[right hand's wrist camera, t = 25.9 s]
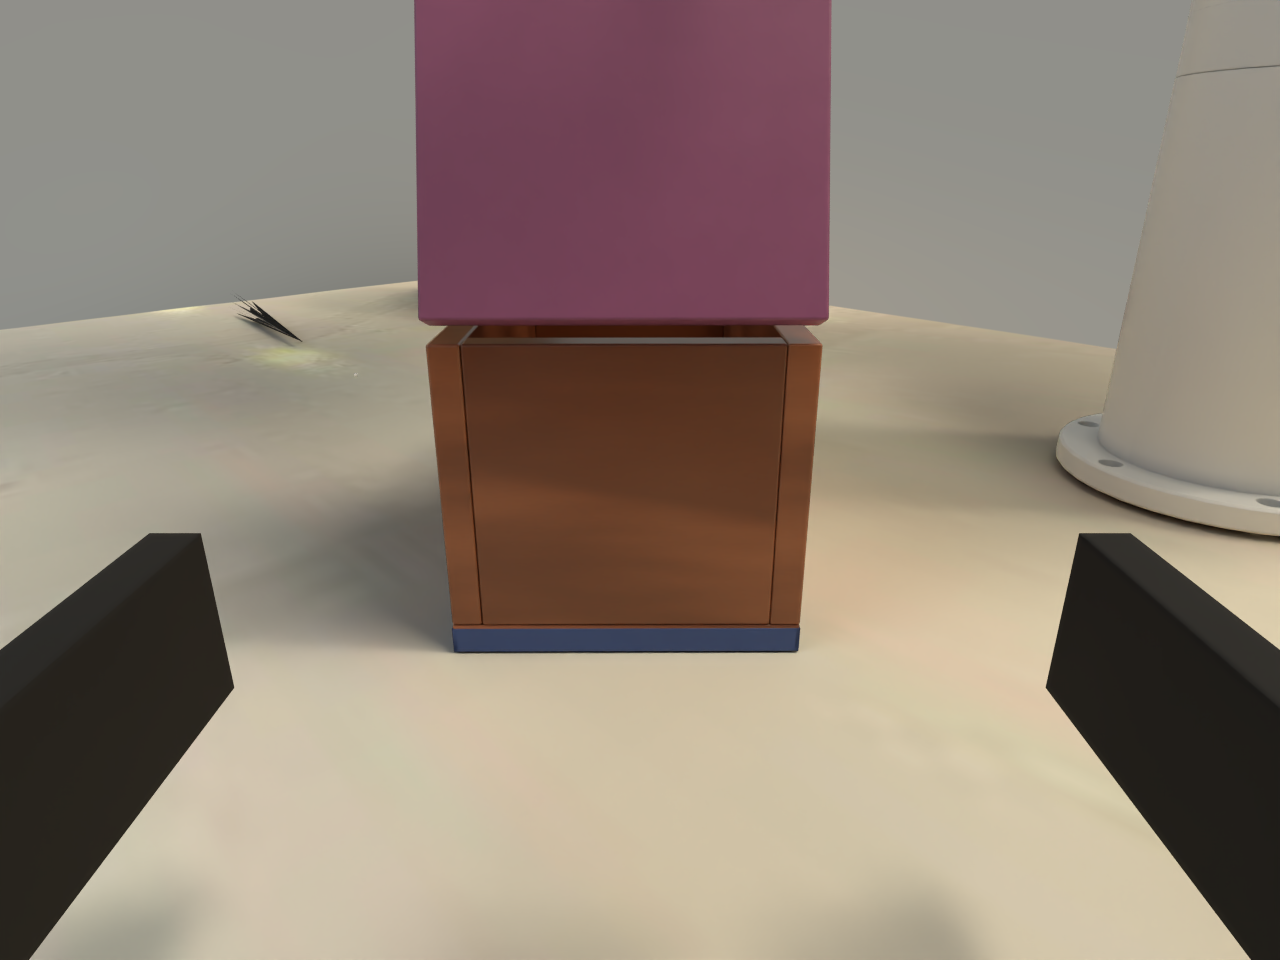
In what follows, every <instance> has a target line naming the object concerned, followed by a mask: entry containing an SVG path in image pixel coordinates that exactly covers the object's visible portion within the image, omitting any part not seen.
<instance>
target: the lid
mask: <svg viewBox="0 0 1280 960" xmlns="http://www.w3.org/2000/svg"><path fill="white" fill-rule="evenodd" d="M414 19H415V96H416V97H415V98H416V173H417V250H418V318H419V320H420V321H422V322H424V323H425V324H427V325H430V326H581V325H820V324H822V323H823V322H825V321H826V320H828V318H829V219H830V216H829V215H830V103H831V0H414Z"/></svg>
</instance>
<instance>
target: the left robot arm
mask: <svg viewBox="0 0 1280 960" xmlns="http://www.w3.org/2000/svg"><path fill="white" fill-rule="evenodd" d="M1056 457H1057V459H1058V460H1059V462H1060V463H1061V465H1062V466H1063V468H1064V469H1065V470H1067V471H1068V472H1069V473H1070V474H1072V475H1073V476H1074V477H1075V478H1077V479H1078V480H1080V481H1081V482H1083V483H1085V484H1087V485H1088V486H1090V487H1092V488H1094V489H1096V490H1098V491H1100V492H1102V493H1105V494H1107V495H1109V496H1111V497H1114V498H1116V499H1118V500H1121V501H1124V502H1127V503H1129V504H1132V505H1135V506H1138V507H1141V508H1144V509H1147V510H1150V511H1153V512H1157V513H1161V514H1164V515H1168V516H1171V517H1175V518H1179V519H1182V520H1186V521H1191V522H1196V523H1200V524H1205V525H1209V526H1214V527H1219V528H1224V529H1230V530H1237V531H1243V532H1249V533H1255V534H1263V535H1273V536H1280V0H1192V2H1191V7H1190V12H1189V17H1188V22H1187V27H1186V32H1185V36H1184V41H1183V46H1182V51H1181V55H1180V60H1179V65H1178V69H1177V74H1176V78H1175V81H1174V86H1173V90H1172V95H1171V100H1170V105H1169V109H1168V114H1167V118H1166V123H1165V127H1164V132H1163V137H1162V141H1161V146H1160V151H1159V155H1158V160H1157V164H1156V169H1155V174H1154V179H1153V183H1152V188H1151V192H1150V197H1149V202H1148V206H1147V211H1146V215H1145V220H1144V225H1143V230H1142V234H1141V239H1140V243H1139V248H1138V253H1137V257H1136V262H1135V266H1134V271H1133V276H1132V280H1131V285H1130V290H1129V294H1128V299H1127V304H1126V308H1125V313H1124V317H1123V322H1122V327H1121V331H1120V336H1119V341H1118V345H1117V350H1116V354H1115V359H1114V364H1113V368H1112V373H1111V378H1110V382H1109V387H1108V391H1107V396H1106V401H1105V405H1104V410H1103V413H1100V414H1095V415H1090V416H1085V417H1081V418H1079V419H1076V420H1074V421H1072V422H1070V423H1068V424H1067V425H1066V426H1064V427H1063V428H1062V429H1061V431H1060V434H1059V438H1058V443H1057V447H1056Z"/></svg>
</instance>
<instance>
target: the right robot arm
mask: <svg viewBox="0 0 1280 960" xmlns="http://www.w3.org/2000/svg"><path fill="white" fill-rule="evenodd" d="M233 689H234V684H233V680H232V675H231V670H230V666H229V661H228V657H227V652H226V647H225V643H224V638H223V633H222V629H221V624H220V620H219V615H218V610H217V606H216V601H215V597H214V592H213V587H212V583H211V578H210V574H209V569H208V564H207V560H206V555H205V551H204V546H203V541H202V537H201V533H149V534H148V535H147V536H145V537H144V538H143V539H142V540H140V541H139V542H138V543H137V544H135V545H134V546H133V547H131V548H130V549H129V550H128V551H126V552H125V553H124V554H122V555H121V556H120V557H119V558H117V559H116V560H115V561H114V562H112V563H111V564H110V565H108V566H107V567H106V568H105V569H103V570H102V571H101V572H99V573H98V574H97V575H96V576H94V577H93V578H92V579H90V580H89V581H88V582H87V583H85V584H84V585H83V586H82V587H80V588H79V589H78V590H76V591H75V592H74V593H73V594H71V595H70V596H69V597H67V598H66V599H65V600H64V601H62V602H61V603H60V604H58V605H57V606H56V607H55V608H53V609H52V610H51V611H50V612H48V613H47V614H46V615H44V616H43V617H42V618H41V619H39V620H38V621H37V622H35V623H34V624H33V625H32V626H30V627H29V628H28V629H26V630H25V631H24V632H23V633H21V634H20V635H19V636H18V637H16V638H15V639H14V640H12V641H11V642H10V643H9V644H7V645H6V646H5V647H3V648H2V649H1V650H0V960H29V959H30V958H31V956H32V955H33V954H34V952H35V951H36V950H37V948H38V947H39V946H40V944H41V943H42V942H43V940H44V939H45V938H46V936H47V935H48V934H49V932H50V931H51V930H52V928H53V927H54V926H55V925H56V923H57V922H58V921H59V919H60V918H61V917H62V915H63V914H64V913H65V911H66V910H67V909H68V907H69V906H70V905H71V903H72V902H73V901H74V899H75V898H76V897H77V895H78V894H79V893H80V891H81V890H82V889H83V887H84V886H85V885H86V883H87V882H88V881H89V879H90V878H91V877H92V875H93V874H94V873H95V872H96V870H97V869H98V868H99V866H100V865H101V864H102V862H103V861H104V860H105V858H106V857H107V856H108V854H109V853H110V852H111V850H112V849H113V848H114V846H115V845H116V844H117V842H118V841H119V840H120V838H121V837H122V836H123V834H124V833H125V832H126V830H127V829H128V828H129V826H130V825H131V824H132V822H133V821H134V820H135V819H136V817H137V816H138V815H139V813H140V812H141V811H142V809H143V808H144V807H145V805H146V804H147V803H148V801H149V800H150V799H151V797H152V796H153V795H154V793H155V792H156V791H157V789H158V788H159V787H160V785H161V784H162V783H163V781H164V780H165V779H166V777H167V776H168V775H169V773H170V772H171V771H172V769H173V768H174V767H175V766H176V764H177V763H178V762H179V760H180V759H181V758H182V756H183V755H184V754H185V752H186V751H187V750H188V748H189V747H190V746H191V744H192V743H193V742H194V740H195V739H196V738H197V736H198V735H199V734H200V732H201V731H202V730H203V728H204V727H205V726H206V724H207V723H208V722H209V720H210V719H211V718H212V716H213V715H214V714H215V713H216V711H217V710H218V709H219V707H220V706H221V705H222V703H223V702H224V701H225V699H226V698H227V697H228V695H229V694H230V693H231V691H232V690H233ZM1046 689H1047V690H1048V691H1049V693H1050V694H1051V695H1052V697H1053V698H1054V699H1055V701H1056V702H1057V703H1058V705H1059V706H1060V707H1061V709H1062V710H1063V711H1064V713H1065V714H1066V715H1067V716H1068V718H1069V719H1070V720H1071V722H1072V723H1073V724H1074V726H1075V727H1076V728H1077V730H1078V731H1079V732H1080V734H1081V735H1082V736H1083V738H1084V739H1085V740H1086V742H1087V743H1088V744H1089V746H1090V747H1091V748H1092V750H1093V751H1094V752H1095V754H1096V755H1097V756H1098V758H1099V759H1100V760H1101V762H1102V763H1103V764H1104V766H1105V767H1106V768H1107V769H1108V771H1109V772H1110V773H1111V775H1112V776H1113V777H1114V779H1115V780H1116V781H1117V783H1118V784H1119V785H1120V787H1121V788H1122V789H1123V791H1124V792H1125V793H1126V795H1127V796H1128V797H1129V799H1130V800H1131V801H1132V803H1133V804H1134V805H1135V807H1136V808H1137V809H1138V811H1139V812H1140V813H1141V815H1142V816H1143V817H1144V819H1145V820H1146V821H1147V822H1148V824H1149V825H1150V826H1151V828H1152V829H1153V830H1154V832H1155V833H1156V834H1157V836H1158V837H1159V838H1160V840H1161V841H1162V842H1163V844H1164V845H1165V846H1166V848H1167V849H1168V850H1169V852H1170V853H1171V854H1172V856H1173V857H1174V858H1175V860H1176V861H1177V862H1178V864H1179V865H1180V866H1181V868H1182V869H1183V870H1184V872H1185V873H1186V874H1187V875H1188V877H1189V878H1190V879H1191V881H1192V882H1193V883H1194V885H1195V886H1196V887H1197V889H1198V890H1199V891H1200V893H1201V894H1202V895H1203V897H1204V898H1205V899H1206V901H1207V902H1208V903H1209V905H1210V906H1211V907H1212V909H1213V910H1214V911H1215V913H1216V914H1217V915H1218V917H1219V918H1220V919H1221V921H1222V922H1223V923H1224V925H1225V926H1226V927H1227V928H1228V930H1229V931H1230V932H1231V934H1232V935H1233V936H1234V938H1235V939H1236V940H1237V942H1238V943H1239V944H1240V946H1241V947H1242V948H1243V950H1244V951H1245V952H1246V954H1247V955H1248V956H1249V958H1250V959H1251V960H1280V650H1279V649H1278V648H1277V647H1275V646H1274V645H1273V644H1271V643H1270V642H1269V641H1268V640H1266V639H1265V638H1264V637H1262V636H1261V635H1260V634H1259V633H1257V632H1256V631H1255V630H1254V629H1252V628H1251V627H1250V626H1248V625H1247V624H1246V623H1245V622H1243V621H1242V620H1241V619H1239V618H1238V617H1237V616H1236V615H1234V614H1233V613H1232V612H1230V611H1229V610H1228V609H1227V608H1225V607H1224V606H1223V605H1222V604H1220V603H1219V602H1218V601H1216V600H1215V599H1214V598H1213V597H1211V596H1210V595H1209V594H1207V593H1206V592H1205V591H1204V590H1202V589H1201V588H1200V587H1198V586H1197V585H1196V584H1195V583H1193V582H1192V581H1191V580H1190V579H1188V578H1187V577H1186V576H1184V575H1183V574H1182V573H1181V572H1179V571H1178V570H1177V569H1175V568H1174V567H1173V566H1172V565H1170V564H1169V563H1168V562H1166V561H1165V560H1164V559H1163V558H1161V557H1160V556H1159V555H1158V554H1156V553H1155V552H1154V551H1152V550H1151V549H1150V548H1149V547H1147V546H1146V545H1145V544H1143V543H1142V542H1141V541H1140V540H1138V539H1137V538H1136V537H1135V536H1133V535H1132V534H1131V533H1079V537H1078V541H1077V546H1076V551H1075V555H1074V560H1073V564H1072V569H1071V574H1070V578H1069V583H1068V587H1067V592H1066V597H1065V601H1064V606H1063V610H1062V615H1061V620H1060V624H1059V629H1058V633H1057V638H1056V643H1055V647H1054V652H1053V657H1052V661H1051V666H1050V670H1049V675H1048V680H1047V684H1046Z"/></svg>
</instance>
